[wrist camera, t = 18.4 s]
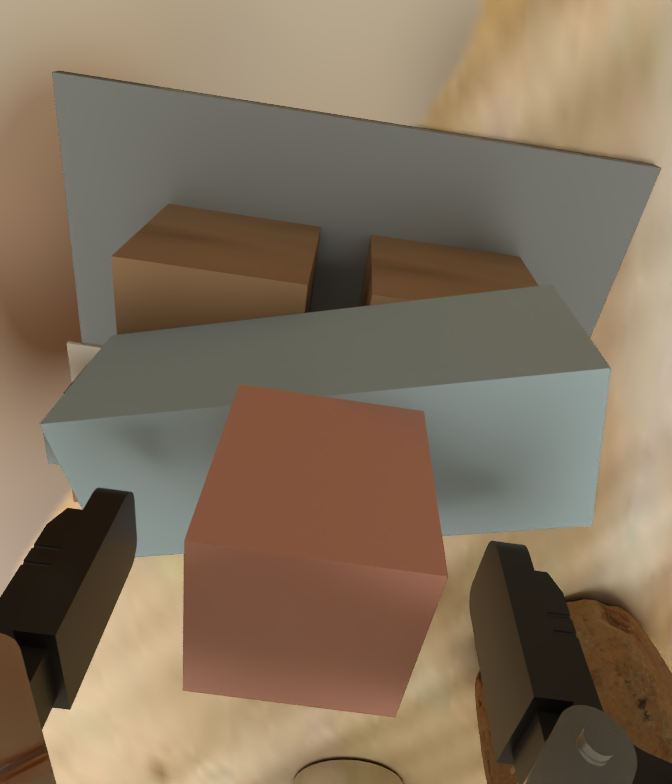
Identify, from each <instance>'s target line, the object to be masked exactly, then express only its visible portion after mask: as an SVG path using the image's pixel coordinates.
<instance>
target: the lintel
mask: <svg viewBox="0 0 672 784" xmlns="http://www.w3.org/2000/svg"><path fill="white" fill-rule="evenodd" d="M610 371H611V368H610V366H609V365H608V363H607V362H606V360H605V359H604V358H603V356H602V355H601V353H600V352H599V350H598V349H597V348H596V346H595V345H594V343H593V342H592V340H591V339H590V338H589V336H588V335H587V333H586V332H585V330H584V329H583V328H582V326H581V325H580V323H579V322H578V321H577V319H576V318H575V316H574V315H573V313H572V312H571V311H570V309H569V308H568V306H567V305H566V303H565V302H564V301H563V299H562V298H561V296H560V295H559V293H558V292H557V291H556V289H555V288H554V286H553V285H543V286H535V287H526V288H517V289H509V290H500V291H491V292H483V293H474V294H465V295H457V296H448V297H440V298H431V299H422V300H414V301H405V302H396V303H388V304H379V305H370V306H362V307H353V308H344V309H336V310H327V311H318V312H310V313H301V314H292V315H284V316H275V317H267V318H258V319H249V320H241V321H232V322H223V323H215V324H206V325H197V326H189V327H180V328H171V329H163V330H154V331H145V332H137V333H128V334H119V335H112V336H111V337H110V338H109V339H108V340H107V342H106V343H105V344H104V345H103V347H102V348H101V349H100V350H99V351H98V353H97V354H96V355H95V356H94V358H93V359H92V360H91V361H90V363H89V364H88V365H87V366H86V367H85V369H84V370H83V371H82V372H81V374H80V375H79V376H78V377H77V379H76V380H75V381H74V382H73V383H72V385H71V386H70V387H69V388H68V390H67V391H66V392H65V393H64V395H63V396H62V397H61V398H60V400H59V401H58V402H57V403H56V404H55V406H54V407H53V408H52V409H51V411H50V412H49V413H48V414H47V415H46V417H45V418H44V419H43V420H42V422H41V423H40V427H41V429H42V431H43V433H44V435H45V437H46V439H47V441H48V442H49V444H50V446H51V448H52V450H53V452H54V454H55V456H56V458H57V460H58V462H59V464H60V466H61V468H62V470H63V472H64V474H65V476H66V478H67V480H68V482H69V484H70V486H71V488H72V490H73V492H74V494H75V496H76V498H77V500H78V502H79V503H80V505H81V507H82V509H83V508H84V507H85V505H86V503H87V501H88V500H89V498H90V496H91V495H92V493H93V491H94V490H95V489H96V488H98V487H99V488H107V489H115V490H122V491H130V492H133V494H134V500H135V515H136V530H137V547H136V553H135V557H144V556H159V555H173V554H184V540H185V537H186V534H187V531H188V528H189V525H190V523H191V520H192V517H193V514H194V511H195V508H196V506H197V503H198V500H199V497H200V494H201V491H202V489H203V486H204V483H205V480H206V477H207V474H208V472H209V469H210V466H211V463H212V460H213V457H214V454H215V452H216V449H217V446H218V443H219V440H220V437H221V435H222V432H223V429H224V426H225V423H226V420H227V418H228V415H229V412H230V409H231V406H232V403H233V401H234V398H235V395H236V392H237V389H238V386H239V384H243V385H250V386H256V387H263V388H270V389H277V390H283V391H290V392H297V393H304V394H310V395H317V396H324V397H331V398H337V399H344V400H351V401H358V402H364V403H371V404H378V405H385V406H392V407H398V408H405V409H412V410H419V411H424V415H425V422H426V429H427V436H428V443H429V450H430V457H431V463H432V470H433V477H434V484H435V491H436V498H437V505H438V512H439V519H440V525H441V532H442V536H450V535H464V534H479V533H493V532H508V531H522V530H537V529H551V528H566V527H580V526H592V521H593V513H594V504H595V496H596V488H597V479H598V471H599V463H600V454H601V446H602V438H603V429H604V421H605V413H606V404H607V396H608V387H609V379H610Z"/></svg>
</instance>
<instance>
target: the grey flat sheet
mask: <svg viewBox="0 0 672 784" xmlns="http://www.w3.org/2000/svg"><path fill="white" fill-rule="evenodd" d="M52 77H53V86H54V95H55V104H56V112H57V121H58V130H59V140H60V149H61V158H62V167H63V176H64V184H65V193H66V203H67V212H68V221H69V230H70V239H71V248H72V257H73V266H74V275H75V285H76V294H77V303H78V312H79V320H80V329H81V339H82V343H87V344H94V345H101V346H103V345H104V344H105V343H106V342H107V340H108V339H109V338H110V337H111V336H112V335H117V330H116V316H115V302H114V289H113V275H112V261H111V256H112V255H113V254H114V253H115V252H116V251H117V250H118V249H119V248H121V247H122V246H123V245H124V244H125V243H126V242H127V241H128V240H129V239H130V238H131V237H133V236H134V235H135V234H136V233H137V232H138V231H139V230H140V229H141V228H142V227H143V226H145V225H146V224H147V223H148V222H149V221H150V220H151V219H152V218H153V217H154V216H155V215H157V214H158V213H159V212H160V211H161V210H162V209H163V208H164V207H165V206H166V205H167V204H172V205H179V206H186V207H192V208H199V209H206V210H212V211H219V212H225V213H232V214H239V215H245V216H252V217H259V218H265V219H272V220H278V221H285V222H292V223H298V224H305V225H312V226H318V227H321V230H320V238H319V246H318V254H317V262H316V270H315V278H314V286H313V294H312V302H311V310H310V312H318V311H327V310H336V309H344V308H353V307H359V302H360V296H361V291H362V285H363V279H364V273H365V267H366V262H367V256H368V250H369V244H370V239H371V235H378V236H384V237H391V238H398V239H404V240H411V241H417V242H424V243H431V244H437V245H444V246H451V247H457V248H464V249H470V250H477V251H484V252H490V253H497V254H504V255H510V256H517V257H520V258H521V259H522V261H523V262H524V264H525V265H526V267H527V268H528V270H529V271H530V273H531V275H532V276H533V278H534V279H535V281H536V282H537V284H538V285H539V286H543V285H553V286H554V288H555V289H556V291H557V292H558V293H559V295H560V296H561V298H562V299H563V301H564V302H565V303H566V305H567V306H568V308H569V309H570V311H571V312H572V313H573V315H574V316H575V318H576V319H577V321H578V322H579V323H580V325H581V326H582V328H583V329H584V330H585V332H586V333H587V335H588V336H589V338H590V337H591V335H592V332H593V330H594V327H595V325H596V323H597V320H598V318H599V315H600V313H601V311H602V308H603V306H604V304H605V301H606V299H607V296H608V294H609V292H610V289H611V287H612V284H613V282H614V280H615V277H616V275H617V273H618V270H619V268H620V265H621V263H622V261H623V258H624V256H625V253H626V251H627V249H628V246H629V244H630V242H631V239H632V237H633V234H634V232H635V230H636V227H637V225H638V222H639V220H640V218H641V215H642V213H643V211H644V208H645V206H646V203H647V201H648V199H649V196H650V194H651V191H652V189H653V187H654V184H655V182H656V180H657V177H658V175H659V172H660V170H661V168H660V167H658V166H656V165H653V164H646V163H640V162H634V161H627V160H621V159H615V158H608V157H602V156H596V155H589V154H583V153H577V152H570V151H564V150H558V149H551V148H545V147H539V146H532V145H526V144H520V143H513V142H507V141H501V140H494V139H488V138H482V137H475V136H469V135H463V134H456V133H450V132H444V131H437V130H431V129H425V128H418V127H412V126H406V125H398V124H393V123H387V122H380V121H374V120H368V119H361V118H355V117H349V116H342V115H336V114H330V113H323V112H316V111H310V110H304V109H298V108H292V107H285V106H279V105H273V104H266V103H260V102H253V101H247V100H241V99H235V98H228V97H222V96H216V95H209V94H203V93H196V92H190V91H184V90H177V89H171V88H165V87H159V86H152V85H146V84H140V83H133V82H127V81H121V80H114V79H108V78H102V77H95V76H89V75H83V74H76V73H70V72H64V71H56V72H52Z"/></svg>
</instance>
